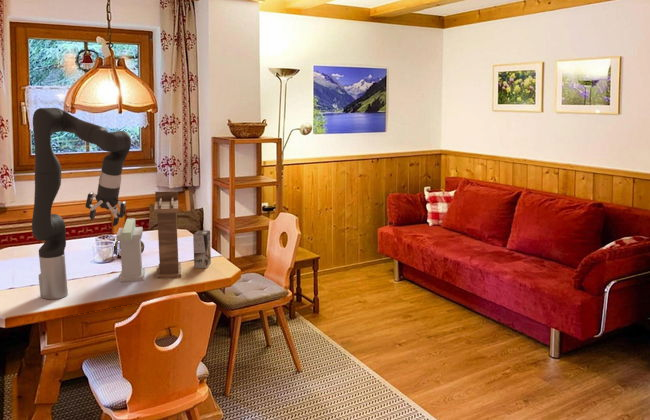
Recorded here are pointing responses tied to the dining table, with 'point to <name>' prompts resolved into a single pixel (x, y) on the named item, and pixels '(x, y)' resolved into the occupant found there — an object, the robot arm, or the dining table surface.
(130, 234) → the batten
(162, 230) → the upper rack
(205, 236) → the coffee box
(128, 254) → the post
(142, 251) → the tin
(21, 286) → the dining table surface
